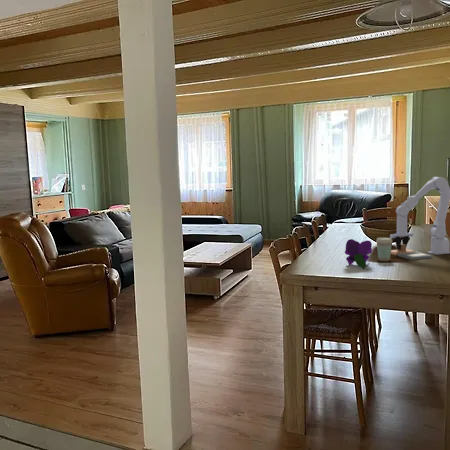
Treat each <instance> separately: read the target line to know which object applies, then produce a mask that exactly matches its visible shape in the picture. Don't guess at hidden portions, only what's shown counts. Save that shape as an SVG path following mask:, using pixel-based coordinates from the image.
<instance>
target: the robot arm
mask: <svg viewBox="0 0 450 450" xmlns="http://www.w3.org/2000/svg"><path fill="white" fill-rule="evenodd" d="M432 190H437V191H438V192H439V193H440V196H439V201H438V206H437V211H436V214H435V215H436V216H435V220H434V222H433V224H432V226H431V228H430V230H429V232H430V235H431V237H430V251H429V250H428V251H427V253H428V254H431V255H438V256H439V255H445V254H447V255H448V254H450V240H449V239H448V238H447V237H446V235H447V230H446V229H447V228H446V227H447V226H446V220H447V219H446V218H447V214H448V210H449V203H450V185H449V181H448V180H447V179H446V178H445V177H442V176H433V177H432V178H431V179H430V180H428V181H427V182H426V183H425V184H424V185H423V186H422V187H421V188H420V189H419V190H418V191H417V192H416V193H415V194H414V195H410V196H407V198H406V200H405V201H404V202H401V203H400V205H399V206H397V207H396V209H395V213H396V232H395V233H393V234H392V233H391V234H389V238H391V239H392V240H394V243H395V245H396V250H397V249H398V250H400V249H401V243H403V244H406V248H408V247H407V246H408V243H409V241H411V240H410V239H411V237H414V235H415V234H414V232H408V215H409V213H410V211H411V210H412V209H413V208H414V207H415V206H416V205H418V203H419V201H420V199H421V198H423V197H424V196H425V195H426V194H427V193H428V192H429V191H432Z"/></svg>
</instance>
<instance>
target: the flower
mask: <svg viewBox="0 0 450 450" xmlns="http://www.w3.org/2000/svg"><path fill="white" fill-rule="evenodd" d="M372 246H373V245H372V242H371V241H370V240H363V241H361V242H359V241H357V240H354V239H353V238H350V239H348V240H347V241H346V243H345V250H344V254H345V255H347V257H346V259H345V260H346V262H347V263H348V265H349V266H350V265H352V264H353V263H356V265H357V266H358V267H359V268H361V269H366V268H367V267H368V266H369V265H370V263H367V261H368V260H369V259H370V256H369V254H372V252H373V249H372Z"/></svg>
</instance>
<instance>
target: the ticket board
mask: <svg viewBox="0 0 450 450" xmlns="http://www.w3.org/2000/svg"><path fill="white" fill-rule="evenodd" d="M432 255H433V254H429V253H428V254H427V253H425V252H419V251H416V252H409V253H398V255H397V256H398V257H400V258H403V259H407V260H410V261H413V260H425V259H432Z"/></svg>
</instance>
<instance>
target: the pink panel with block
mask: <svg viewBox="0 0 450 450" xmlns="http://www.w3.org/2000/svg"><path fill="white" fill-rule="evenodd" d="M409 252H417V251H416V250H413V249H409V248H407V247H406V244H403V243H402V242H401V249H400V250H398V249H397V248H396V249H391V254H390V255H393V256H398V253H409Z"/></svg>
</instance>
